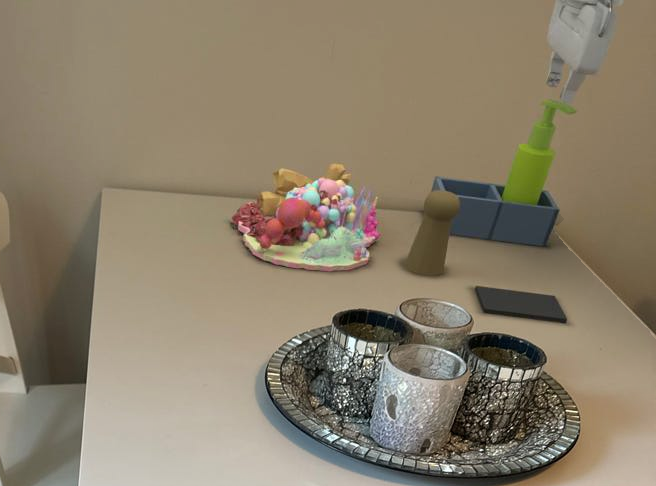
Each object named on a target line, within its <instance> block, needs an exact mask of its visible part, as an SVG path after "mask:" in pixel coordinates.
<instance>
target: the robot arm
mask: <svg viewBox="0 0 656 486" xmlns="http://www.w3.org/2000/svg"><path fill="white" fill-rule="evenodd" d="M624 1H625V0H555V2H554V6H553V9H552V13H551V17H550V21H549V23H548V27H547V32H546V33H547V34H546V45H547V46H549V48H551V50H552V53H551V55H550V60H549V69H548V73H547V76H546V79H545V84H546V85H547V86H548V87H549V88H550V87H551V88H557V87H559V86H560V82H561V80H562V77H563V74H562V73H563V69H564V66H565V64H566V65H567V66H568V67H569V73H568V78H567V81H566V83H565V85H564V86H562V87H561V91H560V94H559V100H560V102H563V103H566V104H568V105H570V104H572V103H574V100H575V97H576V95H577V92H578V90H579V89H580V87H581V86H582V84H583V82H584V81H585V80H586V77H587V75H590V76H597V75H598V74H599V73H600V71H601V69H602V68H603V64H604V63H605V60H606V57H607V54H608V51H609V49H610V45H611V42H612V39H613V36H614V32H615V28H616V24H617V13H616V12H615V11H614V8H617V7H621V6H622V5H623V3H624Z"/></svg>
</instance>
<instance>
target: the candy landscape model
mask: <svg viewBox="0 0 656 486" xmlns="http://www.w3.org/2000/svg"><path fill="white" fill-rule="evenodd" d="M351 176H352V173H346V168H345V166H344V165H343V164H341V163H340V164H339V163H332V164H329V166H328V168H327V171H326V177H325V176H324V175H322V176H321V177H319V178H318V179H317V180H315V181H313V180H312V179H311V178H310V177H307V176H305V175H302V174H300V173H299V172H296V171H294V170H290V169H287V168H282V167H281V168H280V169H278V170H277V171H275V172H273V173H272V178H273V179H272V180H273V182H274V187H275V189H276V190H275V192H272V191H268V190H267V191H261V193H260V195H258V197H256V201H249V202H248V203H244V204H243V205H241V206H240V207H239V208H238V209H237V211H236V213H235V214H234V215H233V216H232V217H231V219H232V222H233V223H234V224H233V225H237V230H238V231H239V232H241V233H243V237H242V241H243V242H244V246H245V247H247V248H248V249H249V251H250V252H251V254H252V255H253V256H256V257H257V258H259V259H261V260H262V261H265V262H269V263H272V264H274V265H276V266H277V265H278V266H284V267H287V268H293V269H305V270H307V271H321V272H322V271H323V272H333V271H338V272H339V271H349V270H353V269H356V268H359V267H361V266H365V265H367V264H368V262H369V260H370V257H371V256H370V251H368V250H367V248H368V247H369V248H370V246H371V245H372V244H374V243H375V241H377V240H379V238H380V233H379V232H378V231H377V227H378V226H379V222H378V220H377V215H376V214H377V211H375V210H376V208H377V207H376V206H377V205H378V199H379V197H378V196H375V199H374V201H370V199H371V197H372V194H373V188H372V187H370V189H369V191H368V194H367V196H366V198H365V197H364V194H365V191H366V185H364V186H363V188H362V190H361V192H360V193H358V196H357V198H356V200H355V198H354V197H355V191H354V189H353V187H352V186H351V185H349V183H350V180H351ZM364 198H365V199H364Z"/></svg>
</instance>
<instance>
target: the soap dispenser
mask: <svg viewBox="0 0 656 486" xmlns="http://www.w3.org/2000/svg"><path fill="white" fill-rule="evenodd" d="M540 105H542V106H545V108H544V111H543V114H542V117H541V119H540V120H538V121H535V122H534V123H533V127H532V130H531V132H530V135H529V139H528V141H527V142H523V143H520V144H519V145H518V147H517V150H516V152H515V155H514V158H513V162H512V165H511V168H510V171H509V174H508V177H507V180H506V183H505V185H506V186H505V189H504V192H503V195H502V198H501V199H502V201H507V202H515V203H523V204H531V205H537V203H538V200H539V198H540V195H541V192H542V190H544V186H545V184H546V181H547V177H548V175H549V172H550V170H551V166H552V164H553V161H554V159H555V155H556V151H555V150H554V149H553V148H551V147H550V146H551V143H552V141H553V140H552V139H553V137H554V134H555V131H556V128H557V127H556V125H555V124H554V123H553V120H554V118H555V114H556V112H557V110H559V111H561V112H563V113H565V114H566V115H572V114H576V113H577V112H578V111H577V110H576V109H575V108H574V107H573V106H571V105H570V104H569V103H563V102H562V101H558V100H555V99H543V100H542V101H541V103H540Z"/></svg>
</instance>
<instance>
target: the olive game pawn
mask: <svg viewBox="0 0 656 486" xmlns="http://www.w3.org/2000/svg"><path fill="white" fill-rule="evenodd" d="M459 208H460V200H459V197H458V196H457V195H455V194H454V193H451V192H448V191H443V190H436V191H432V192H431V191H430V192H429V193H428V195H427V196H426V197H425V199H424V201H423V212H424V215H423V218H422V220H421V223H420V224H419V227H418V230H417V231H416V232H417V233H416V235H415V237H414V239H413V242H412V244H411V247H410V250H409V252H408V254H407V257H406V259H405V262H404V267H405V268H406V269H407V270H409V271H410V272H412V273H414V274H416V275H420V276H427V277H436V276H440V275H442V274H443V273H444V268H445V264H446V258H447V253H448V252H447V251H448V247H449V240H450V229H451V223H452V219H453V218H454V217H455V216H456V215H457V213H458V211H459Z"/></svg>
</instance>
